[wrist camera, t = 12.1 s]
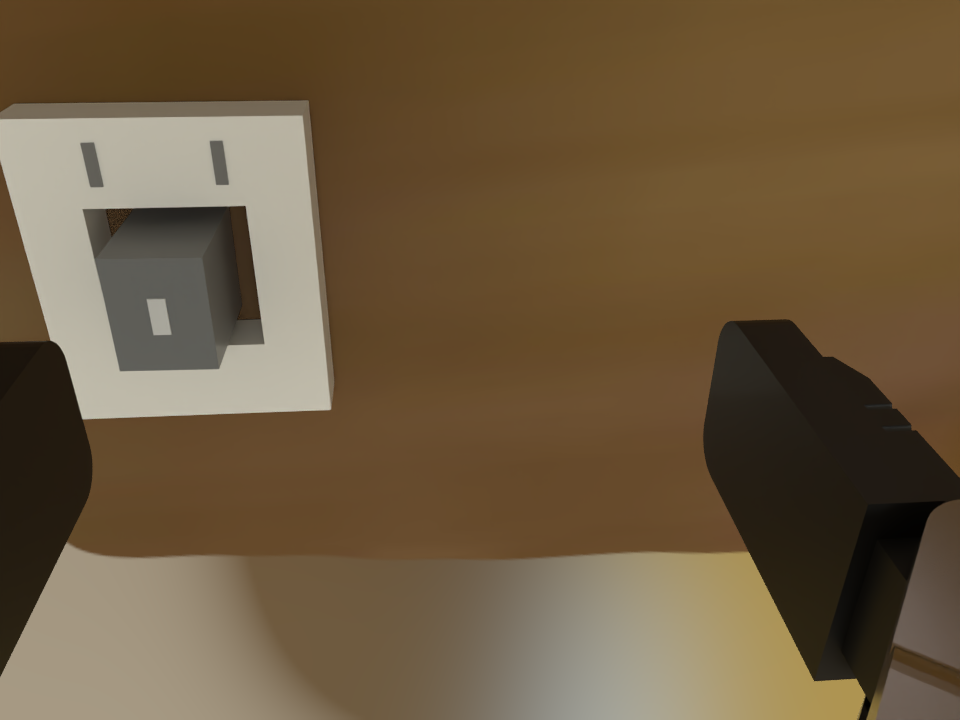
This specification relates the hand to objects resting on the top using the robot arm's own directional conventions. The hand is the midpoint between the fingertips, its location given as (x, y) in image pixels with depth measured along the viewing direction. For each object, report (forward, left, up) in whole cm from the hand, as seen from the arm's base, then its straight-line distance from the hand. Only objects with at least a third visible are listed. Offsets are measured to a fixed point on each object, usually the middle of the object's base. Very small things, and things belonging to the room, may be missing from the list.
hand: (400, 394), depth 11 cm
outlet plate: (+10, -10, -28) cm, 31 cm away
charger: (+10, -10, -28) cm, 32 cm away
